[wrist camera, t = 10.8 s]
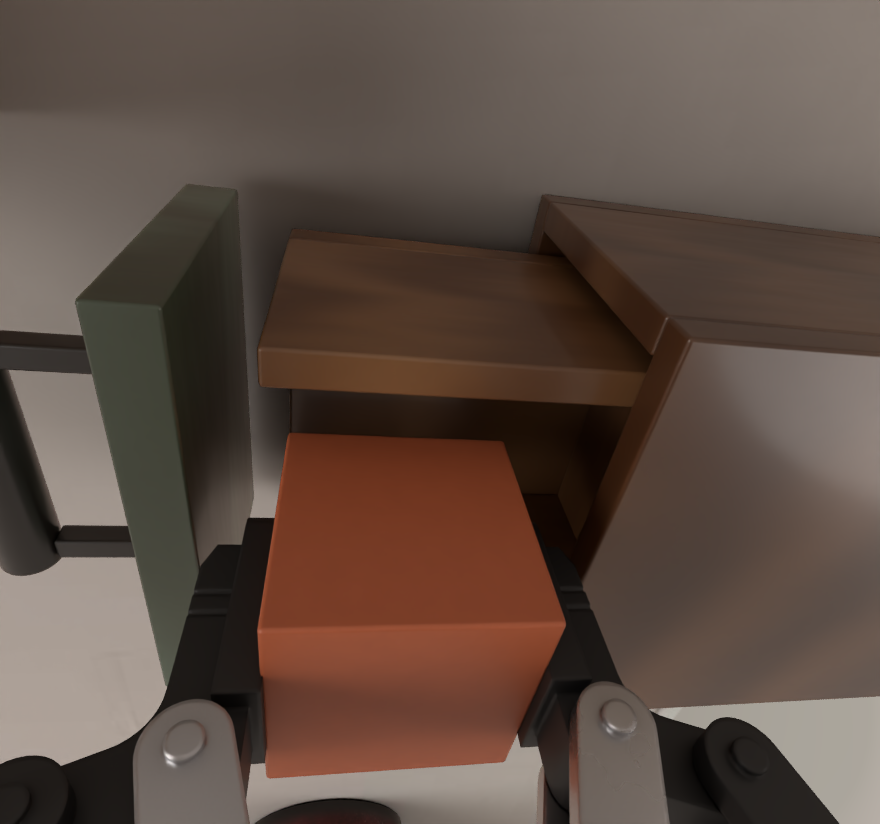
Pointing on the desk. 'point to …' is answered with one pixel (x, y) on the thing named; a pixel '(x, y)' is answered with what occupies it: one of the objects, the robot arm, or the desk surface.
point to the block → (400, 606)
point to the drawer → (310, 382)
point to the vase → (334, 813)
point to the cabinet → (735, 455)
